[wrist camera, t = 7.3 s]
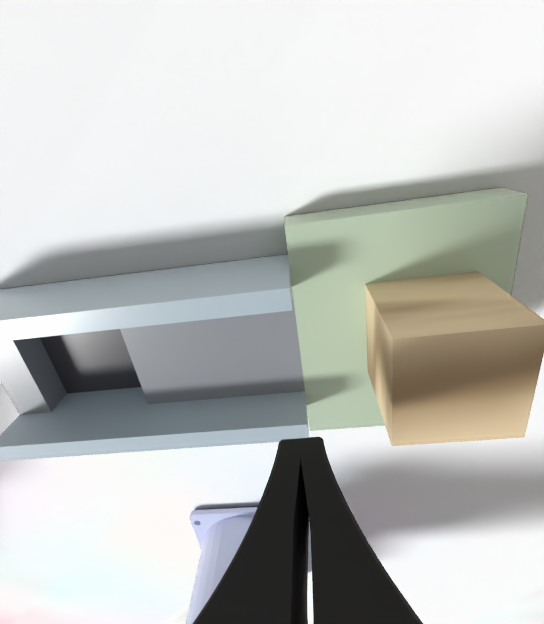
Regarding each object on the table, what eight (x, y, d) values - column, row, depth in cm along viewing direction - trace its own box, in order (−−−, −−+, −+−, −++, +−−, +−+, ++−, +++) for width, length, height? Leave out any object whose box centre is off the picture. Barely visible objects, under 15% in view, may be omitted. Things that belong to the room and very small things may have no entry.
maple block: (467, 363, 18) (524, 437, 14) (367, 371, 19) (391, 446, 14) (477, 271, 16) (549, 324, 12) (365, 283, 17) (393, 339, 12)
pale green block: (474, 394, 22) (516, 453, 18) (58, 426, 24) (13, 484, 20) (502, 187, 16) (571, 204, 12) (-31, 258, 19) (-117, 291, 15)
